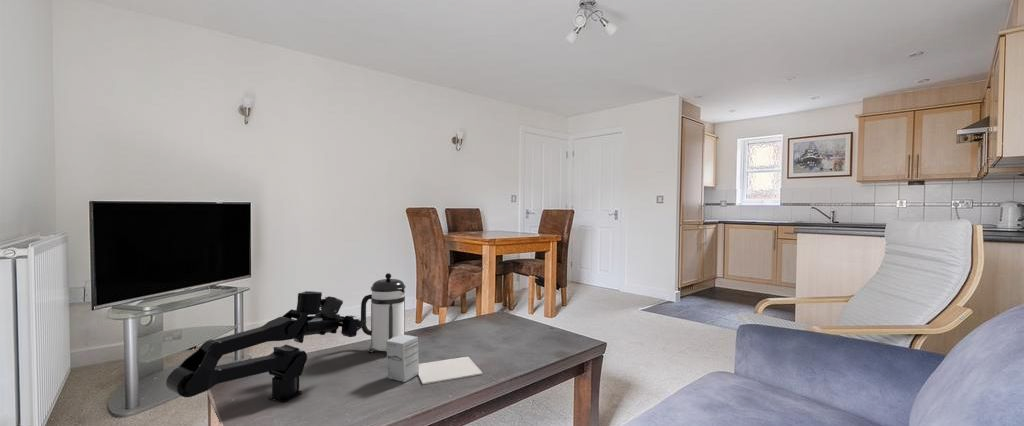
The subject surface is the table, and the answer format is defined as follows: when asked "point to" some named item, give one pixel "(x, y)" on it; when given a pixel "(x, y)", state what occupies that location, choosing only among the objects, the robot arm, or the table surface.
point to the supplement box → (402, 357)
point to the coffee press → (385, 312)
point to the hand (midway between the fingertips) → (356, 320)
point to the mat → (447, 370)
